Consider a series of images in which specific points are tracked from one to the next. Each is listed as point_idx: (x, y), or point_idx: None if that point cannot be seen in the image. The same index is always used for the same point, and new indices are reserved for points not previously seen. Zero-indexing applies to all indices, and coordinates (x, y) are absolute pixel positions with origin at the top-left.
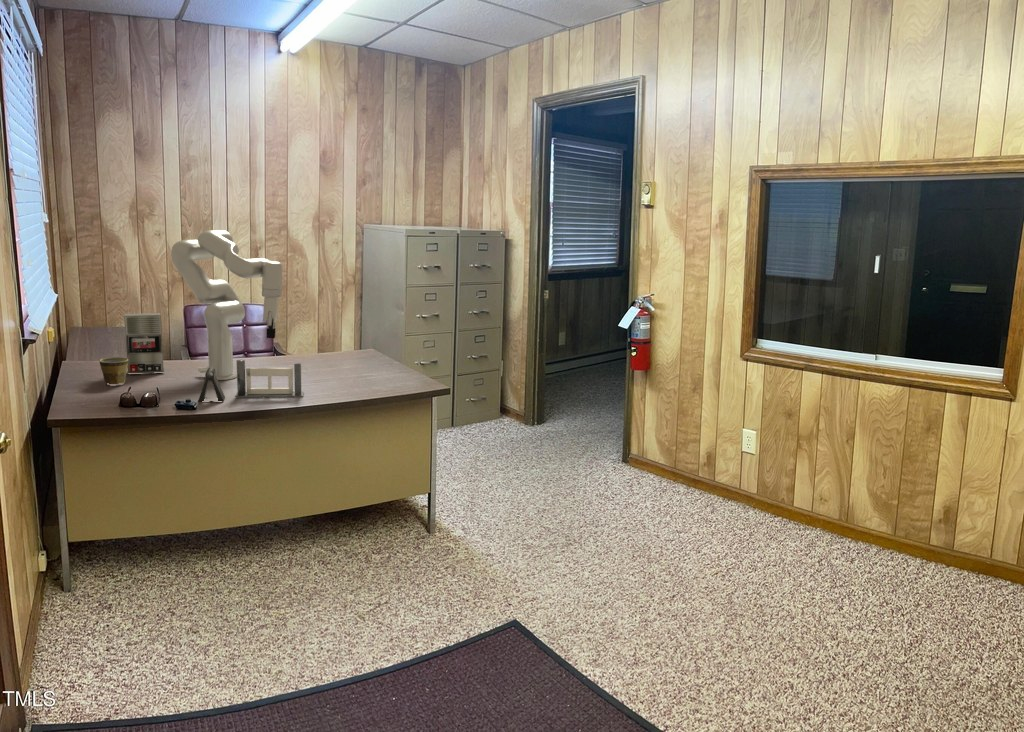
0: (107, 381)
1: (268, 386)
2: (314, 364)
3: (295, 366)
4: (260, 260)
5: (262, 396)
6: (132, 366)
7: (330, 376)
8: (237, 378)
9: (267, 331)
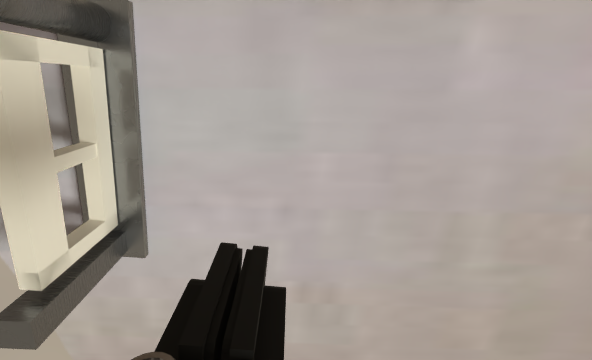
0: None
1: (75, 145)
2: (564, 295)
3: (7, 313)
4: None
5: (70, 114)
6: None
7: (376, 332)
8: None
9: (197, 307)
